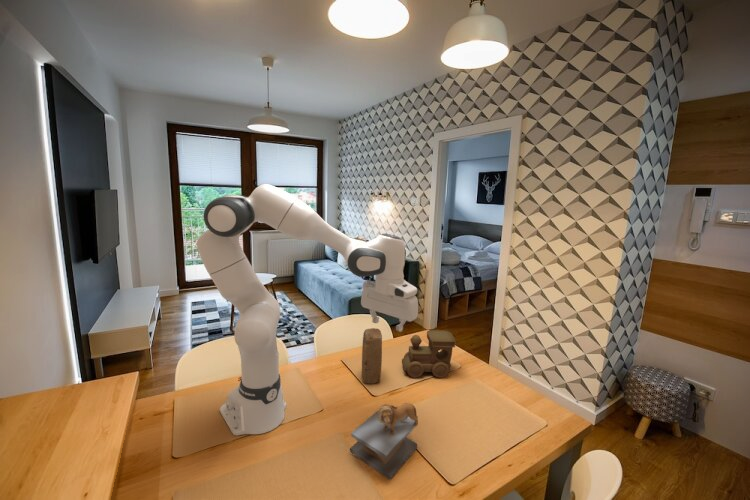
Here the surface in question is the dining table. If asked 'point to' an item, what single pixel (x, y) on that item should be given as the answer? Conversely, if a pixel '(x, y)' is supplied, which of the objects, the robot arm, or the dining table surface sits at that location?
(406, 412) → the lion figurine
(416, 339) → the wooden toy train
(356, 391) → the dining table surface
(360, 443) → the stand
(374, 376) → the block
